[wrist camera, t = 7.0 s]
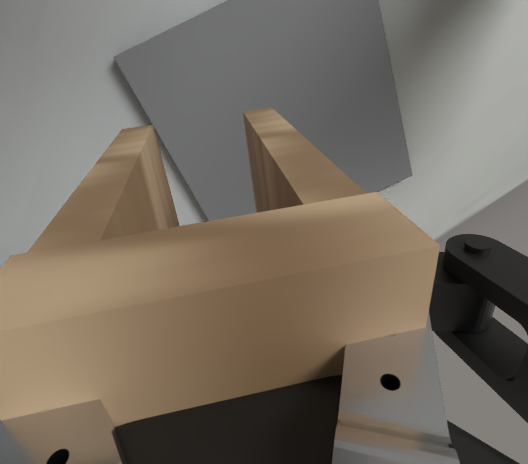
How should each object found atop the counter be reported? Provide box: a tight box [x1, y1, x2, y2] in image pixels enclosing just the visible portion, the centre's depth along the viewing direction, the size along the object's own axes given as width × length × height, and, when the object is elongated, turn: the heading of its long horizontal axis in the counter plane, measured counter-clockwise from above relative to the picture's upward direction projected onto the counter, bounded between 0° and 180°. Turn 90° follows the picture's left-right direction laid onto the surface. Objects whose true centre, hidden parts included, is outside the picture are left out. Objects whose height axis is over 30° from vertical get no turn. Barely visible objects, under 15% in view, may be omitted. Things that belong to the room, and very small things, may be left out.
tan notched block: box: [0, 107, 440, 427], centre depth 11 cm, size 6×6×11 cm
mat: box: [114, 0, 412, 221], centre depth 28 cm, size 18×18×1 cm
